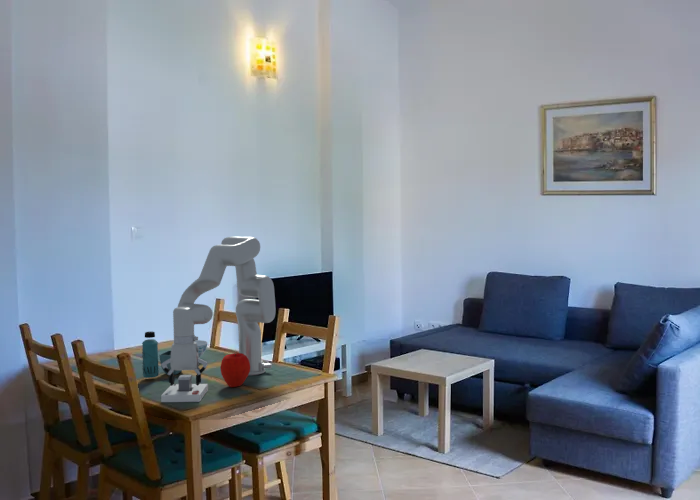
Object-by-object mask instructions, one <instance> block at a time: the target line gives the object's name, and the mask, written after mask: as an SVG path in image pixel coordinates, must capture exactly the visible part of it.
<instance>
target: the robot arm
mask: <svg viewBox="0 0 700 500" xmlns="http://www.w3.org/2000/svg"><path fill="white" fill-rule="evenodd" d="M260 252H261V243H260V241H259V240H258V238H257V237H254V236H227V237H224V238H222V240H221V243H220V244H216V245H215V244H214V245H213V246H212V247H211V248H210V249H209V252H208V254H207V256H206V259H205V261H204V264H203V267H202V269H201V272H200V275H199V276H198V277H197V279H195V280H194V281H193V282H192V283H191V284H190V285H189V286H188V287H187V288H186V289H185V290H184V291H183V293H182V294H181V296H180V299H179V301H178V303H177V307H174V309H173V310H172V317H173V318H172V319H173V320H172V323H173V342H172V344H171V350H170V351H171V358H170V359H169V360H167V361H165V362H163V363H162V364H161V363H160V366H161V365H162V367H163V369H164V371H165V372H166V373H167V374H166V375H168V384H170V386H172V385H173V384H175V375H174V373H173V372H174V370H182V371H194V372H195V373H196V375H195V384H196V385H199V384H202V373H203V372H204V371H205V369H206V368H207V366H208V364H209V362H208V361H206V360H204V359H202V358H200V357H199V354H198V347H197V343H196V342H194V341H196V340H199V336H196V335H195V325H205V324H207V323H209V322H210V321H211V320H212V318H213V315H214V314H213V310H212V308H211V306H209V305H206V304H202V303H201V304H200V303H195V302H196V300H197V299H198V298H199V297H200V296H202V295H203V294H205V293H207V292H210V291H211V290H214V289H216V288H217V287H219V286H220V285H221V282H222V280H223V277H224V274H225V271H226V269H227V267H235V277H236V287H237V293H238V294H239V295H240V296H242V297H246V298H245V299H241V300H239V302H237V304H236V307H235V316H236V319H237V326H238V353H242V354H244V355H246V356H247V358H248V360H249V362H250V372H249V374H248V376H258V375H262V374H265V372H266V369H272V368H273V366H272V365H273V364H272V363H269V362H267V363H265V362H264V360H263V359H262V331H261V327H260V325H259V323H263V324H268V323H271V322H273V320H274V319H275V317H276V311H277V310H276V297H275V286H274V282H273V280H272V278H271V277H270V276H269V275H264V274H263V275H262V274H258V273H257V265H256V261H255V258H256V257H257V256H258V255H259V253H260ZM248 297H249V298H248ZM250 298H251V299H250ZM252 298H253V299H252ZM255 298H258V299H255ZM168 363H170V366H171V370H170V369H169V368H168V367H167V364H168ZM200 364H201V365H202V367H201V368H200V367H199V366H200ZM162 367H161V368H162ZM163 369H162V370H163ZM164 371H163V372H164ZM165 372H164V373H165Z"/></svg>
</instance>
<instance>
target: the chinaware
mask: <svg viewBox="0 0 700 500" xmlns="http://www.w3.org/2000/svg"><path fill="white" fill-rule="evenodd" d="M194 342H196V343H197V347H198V354H199V358H200V357H202V356H203V354H205V352H206V351H207V347H208V341H206V340H200V339H198V340H196V341H194Z"/></svg>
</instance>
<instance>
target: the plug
mask: <svg viewBox="0 0 700 500" xmlns="http://www.w3.org/2000/svg"><path fill="white" fill-rule="evenodd" d="M192 377H193V375H192V374H180V375H179V376H178V377H177V381H178V383H177V384H179V391H192V384H193V382H192V381H193V380H192V379H193V378H192Z"/></svg>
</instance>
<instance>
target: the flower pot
mask: <svg viewBox="0 0 700 500" xmlns="http://www.w3.org/2000/svg"><path fill="white" fill-rule="evenodd" d="M158 357H159V362H160V367H161V370H162V371H163V372H164V374H165V375H168V374H167V373H166V372H165V371H164V369H163V367H162V365H161V364H162V363H163V362H165V361H167V360H169V359H170V358H171V350H166V351H165V352H162V353H160V354H158ZM167 367H168V368H169V369H170V370H171V366H170V363H168V364H167ZM182 371H183V370H174V372H173V373H174V376H176V375H179V374H180V373H182Z"/></svg>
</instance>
